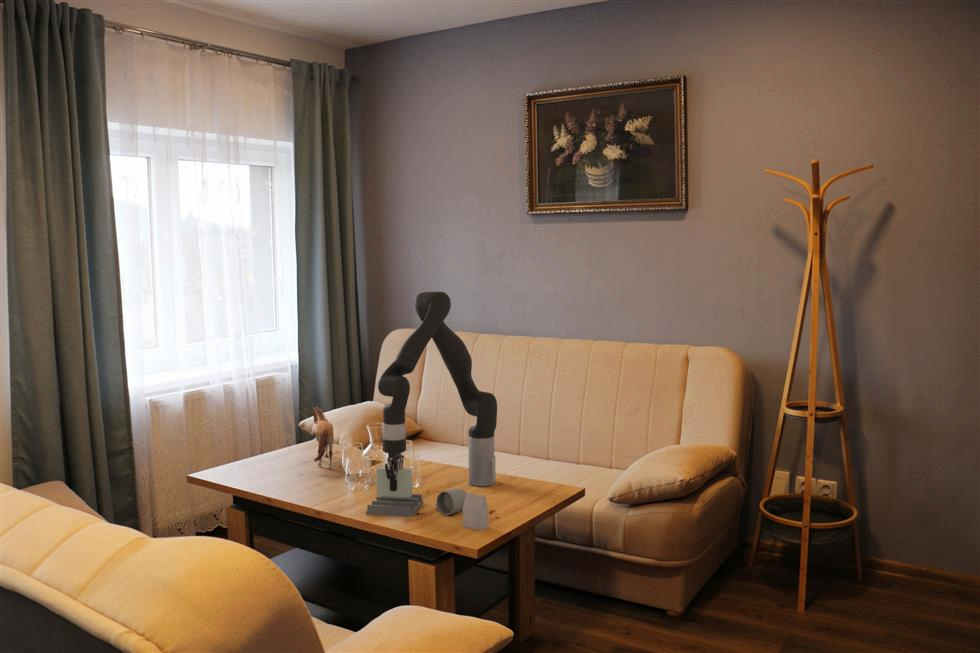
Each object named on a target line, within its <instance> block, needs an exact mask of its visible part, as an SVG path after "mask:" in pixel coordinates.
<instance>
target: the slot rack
mask: <svg viewBox="0 0 980 653" xmlns="http://www.w3.org/2000/svg"><path fill="white" fill-rule="evenodd" d="M375 499H376V500H371V504H367V510H366V511H365V515H367V514H369V515H371V516H385V515H389V516H388V517H391V516H392V517H406V518H408V517H409V518H412V517H413V516H415V514H416V512H418V510H419V509H420V508H421V507H422V506H423V505H424V500H423V494H419V493H412V496H411V497H410V498H409V497H391V496H377V495H376V496H375ZM369 515H368V516H369Z"/></svg>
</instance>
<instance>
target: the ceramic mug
mask: <svg viewBox="0 0 980 653" xmlns="http://www.w3.org/2000/svg"><path fill="white" fill-rule="evenodd" d="M466 493H467V492H466V491H465V490H464V489H463V488H451V489H446V490H443V491H440V492H439V493H438V494H437V496H436V502H435V504H434V508H435V510H438V511H439V513H441V515H443V516H450V515H453V514H455V513H458V512H461V511H462V512H463V505H464V501H465V496H466Z"/></svg>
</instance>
